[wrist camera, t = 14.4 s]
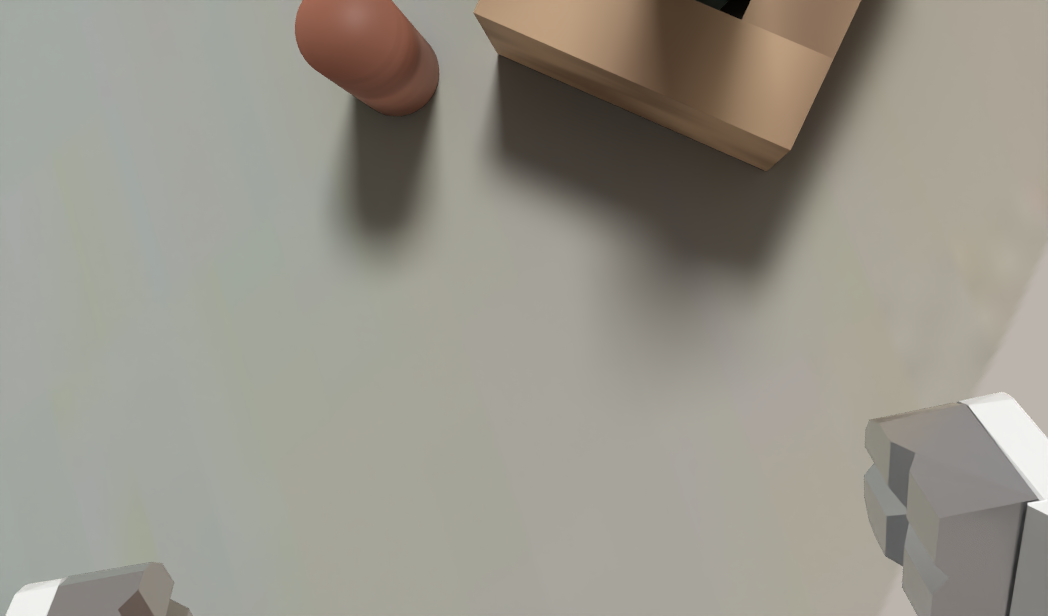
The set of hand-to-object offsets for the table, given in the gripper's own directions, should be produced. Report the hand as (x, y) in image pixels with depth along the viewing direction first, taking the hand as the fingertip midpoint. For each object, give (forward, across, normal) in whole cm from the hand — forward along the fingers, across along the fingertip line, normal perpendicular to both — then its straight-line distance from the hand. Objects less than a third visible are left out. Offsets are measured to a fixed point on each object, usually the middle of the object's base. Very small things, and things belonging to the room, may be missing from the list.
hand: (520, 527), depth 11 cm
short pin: (+25, +3, +3) cm, 25 cm away
